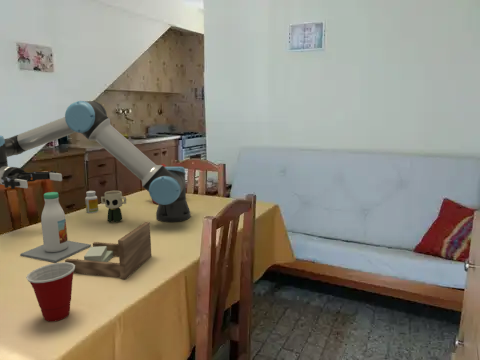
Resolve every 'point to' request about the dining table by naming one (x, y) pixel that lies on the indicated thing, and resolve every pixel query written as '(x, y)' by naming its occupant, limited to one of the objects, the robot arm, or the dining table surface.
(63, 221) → the milk bottle
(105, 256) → the offcut stack
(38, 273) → the plastic cup
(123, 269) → the tray
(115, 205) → the character mug
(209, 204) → the dining table surface
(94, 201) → the supplement bottle
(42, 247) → the slate tile
